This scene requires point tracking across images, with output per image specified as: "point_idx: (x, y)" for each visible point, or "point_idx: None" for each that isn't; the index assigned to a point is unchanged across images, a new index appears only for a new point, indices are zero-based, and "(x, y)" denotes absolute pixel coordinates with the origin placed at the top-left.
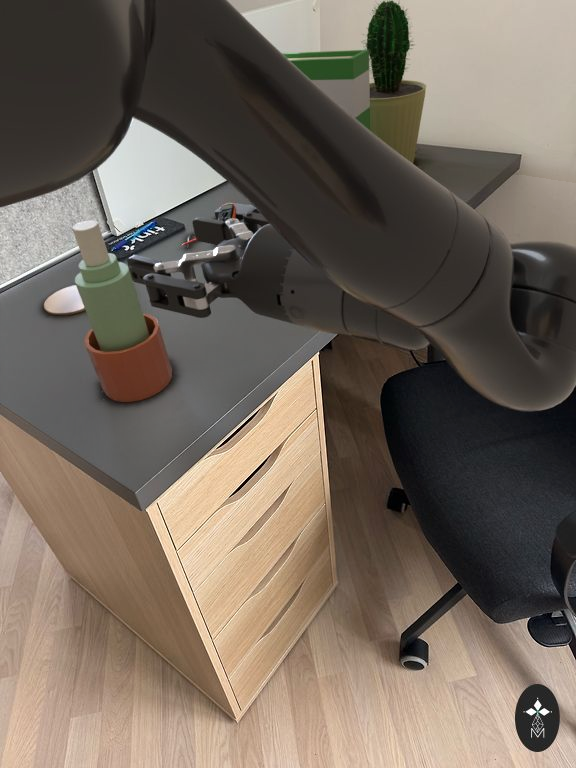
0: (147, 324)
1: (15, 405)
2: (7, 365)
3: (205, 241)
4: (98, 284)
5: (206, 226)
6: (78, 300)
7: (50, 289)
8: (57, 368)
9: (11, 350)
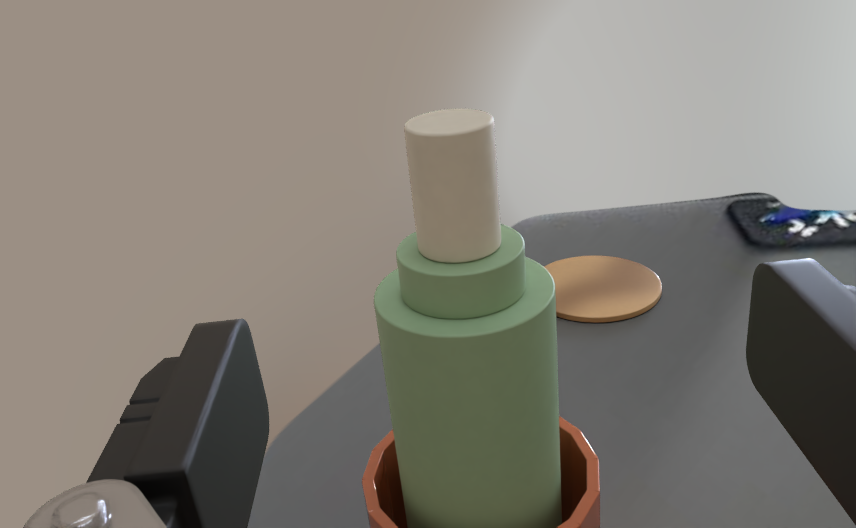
0: (584, 481)
1: (268, 459)
2: (363, 359)
3: (777, 411)
4: (407, 318)
5: (807, 339)
6: (596, 294)
7: (581, 246)
8: None
9: None
